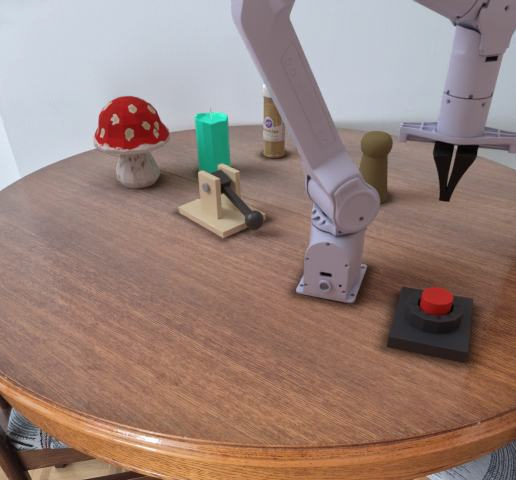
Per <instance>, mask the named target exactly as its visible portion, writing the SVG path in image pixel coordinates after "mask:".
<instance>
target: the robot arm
mask: <svg viewBox="0 0 516 480" xmlns="http://www.w3.org/2000/svg"><path fill="white" fill-rule="evenodd" d="M412 1H413V2H414V3H417V4H419V5H421V6H423V7H425V8H427V9H428V10H430V11H432V12H434V13H436V14H438V15H440V16H441V17H444V18H446V19H448V20H449V22H450V23H451V25H452V26H453V27H455V30H454V36H453V40H452V45H451V51H450V56H449V61H448V64H447V65H448V66H447V72H446V76H445V81H444V87H443V90H442V95H441V102H440V106H439V112H438V116H437V117H438V118H437V121H418V122H417V121H415V122H413V121H412V122H411V121H402V122H401V124H400V126H399V130H398V137H397V142H398V143H407V142H417V143H424V144H425V143H426V144H434V145H433V149H432V156H433V161H434V163H435V168H436V172H437V179H438V187H439V191H438V192H439V193H438V194H439V195H438V201H439V202H446V203H450V202H451V198H452V195H453V193H454V192H455V189H456V187H457V186H458V184H459V182H460V181H461V179H462V178H463V177H464V175H465V174H466V172H467V171H468V169H469V168H470V167H471V166H472V165H473V164H474V162H475V161H476V159H477V157H478V154H479V153H478V151H479V149H485V150H496V151H503V152H507V153H508V154H514V155H516V131H511V130H506V129H505V130H504V129H500V128H495V127H491V126H486V125H487V120H488V117H489V113H490V109H491V105H492V101H493V97H494V93H495V90H496V87H497V83H498V82H497V81H498V78H499V75H500V70H501V65H502V62H503V58H504V54H506V51H507V49H509V48H510V44H511V41H512V37H513V35H514V33H515V32H516V0H412ZM295 2H296V0H230V13H231V18H232V20H233V24H234V26H235V28H236V30H237V32H238V34H239V36H240V38H241V40H242V42H243V43H244V46H245V48H246V50H247V52H248V54H249V55H250V58H251V60H252V62H253V64H254V66H255V68H256V70H257V72H258V74H259V76H260V78H261V80H262V83H263V84H265V86H266V88H267V90H268V92H269V94H270V96H271V98H272V100H273V102H274V104H275V106H276V108H277V110H278V112H279V114H280V116H281V118H282V120H283V122H284V124H285V129H286V130H287V132H288V134H289V136H290V138H291V141H292V143H293V145H294V147H295V149H296V151H297V152H298V154H299V156H300V158H301V163H300V167H301V169H302V171H303V174H304V176H305V179H304V189H305V193H306V195H307V197H308V198H309V199H310V200H311V201H312V209H311V215H310V233H309V245H308V246H307V248H306V250H305V254H304V262H303V263H304V265H303V275H302V277H301V279H300V281H299V283H298V284H297V287H296V288H295V292H296V293H297V294H299V295H303V296H304V295H305V296H309V297H314V298H319V299H320V298H321V299H325V300H330V301H334V302H335V301H336V302H339V303H340V302H341V303H345V304H354V303H355V301H356V300H357V299H356V298H357V296H358V294H359V291H360V287H361V286H362V283H363V280H364V277H365V275H366V272H367V269H368V265H367V264H365V263H362V262H363V254H364V246H365V240H366V239H365V238H366V233H367V232H366V231H367V230H368V227H369V226H370V225H371V224H372V223H373V222H374V220H375V219H376V217H377V216H378V215H379V211H380V207H381V203H380V197H379V194H378V192H377V191H376V189H375V188H374V187H372V186H371V185H369V184H368V183H366V182H365V180H364V179H363V177H362V174H361V172H360V170H359V166H358V165H356V163H355V161H354V160H353V159H352V157H351V156H350V154H349V153H348V152H347V150H346V147H345V145H344V143H343V141H342V138H341V136H340V134H339V132H338V129H337V127H336V124H335V122H334V120H333V117H332V115H331V112H330V110H329V107H328V105H327V103H326V101H325V98H324V96H323V94H322V91H321V89H320V87H319V85H318V82H317V80H316V77H315V74H314V73H313V70H312V68H311V66H310V63H309V61H308V58H307V56H306V54H305V52H304V48H303V47H302V44H301V42H300V39H299V37H298V35H297V32H296V30H295V28H294V25H293V23H292V20H291V13H292V10H293V8H294V5H295ZM455 146H457V147H456V150H455ZM454 151H455V155H454ZM453 156H454V160H453ZM452 161H453V163H452ZM451 166H452V168H451ZM450 169H451V172H450ZM449 173H450V176H449Z"/></svg>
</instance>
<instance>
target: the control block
mask: <svg viewBox="0 0 516 480" xmlns="http://www.w3.org/2000/svg"><path fill="white" fill-rule="evenodd" d="M424 290H425V289H421V288H415V287H409V286H404V285H403V286H401V289H400V293H399V296H398V299H397V304H396V308H395V311H394V314H393V318H392V322H391V326H390V329H389V332H388V333H389V334H388V336H387V337H388V338H387V342H386V348H390V349H396V350H399V351H404V352H409V353H415V354H419V355H423V356H428V357H434V358H438V359H443V360H447V361H452V362H456V363H457V362H458V363H462V364H465V363H466V361H467V357H468V354H469V350H470V349H469V348H470V339H471V337H470V336H471V327H472V318H473V316H472V315H473V308H474V307H473V306H474V298H471V297H466V296H460V295H454V294H452V295H453V302H452V306H451V310H450V312H449V313H448V314H447V315H441V316H437V315H431V314H428V313H426V312H424V311H422V309H421V308H420V301H421V297H422V293H423V291H424Z"/></svg>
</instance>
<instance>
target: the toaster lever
mask: <svg viewBox="0 0 516 480" xmlns="http://www.w3.org/2000/svg"><path fill="white" fill-rule="evenodd" d="M210 174H211V175H213V176H215V177H217V178H220V186H221V194H225V196H226V197H227V198H228V199H229V200H230V201H231V202H232V203H233V204H234V205H235V206H236V207H237V209H238V210H239V211H240V212H241V213H242V214H243V215H244V216H245V224H246V226H247V227H248V228H247V229H249V230H252V231H257V230H260V229H261V228H262V227H263V226H264V223H265V220H264V217H263V215H262V213H261V212H262V211H261V212H259V211H260V210H259V211H257V210H258V209H257V210H251V209H250V208H249V207H248V206H247V205H248V204H247V203H246V202H245V201H244V200H243V199H242V197H241V198H240V197H239V196H238V195H237V194H236V193H235V192H234V191H233V190H232V189H231V188H230V184H231V179H230V178H229V177H228V176H227V175H226V174H225V173H224V172H223V171H222V170H221V169H220V170H218V171H215V172H212V173H210ZM246 204H247V205H246Z"/></svg>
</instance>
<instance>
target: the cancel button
mask: <svg viewBox="0 0 516 480" xmlns="http://www.w3.org/2000/svg"><path fill="white" fill-rule="evenodd" d="M423 290H424V291H423V293H422V297H421V301H420V308H421V309H422V311H424V312H426V313H428V314H431V315H437V316H441V315H447V314H448V313H449V312H450V310H451V306H452V302H453V295H454V294H453V293H451V291H449V290H448V289H445V288H443V287H437V286H432V287H427V288H425V289H423Z"/></svg>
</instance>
